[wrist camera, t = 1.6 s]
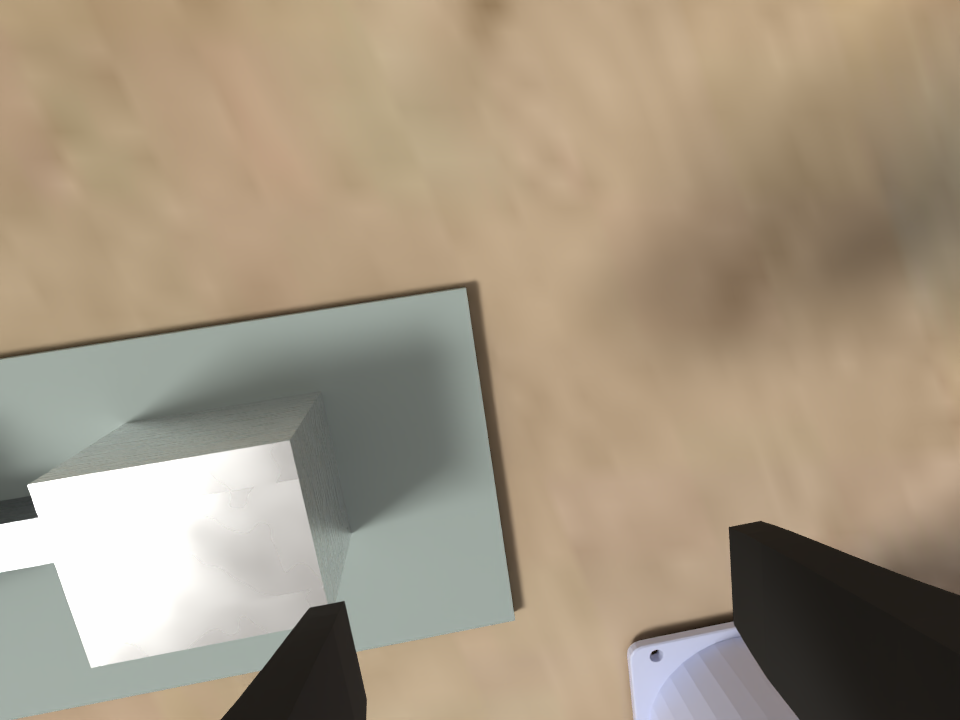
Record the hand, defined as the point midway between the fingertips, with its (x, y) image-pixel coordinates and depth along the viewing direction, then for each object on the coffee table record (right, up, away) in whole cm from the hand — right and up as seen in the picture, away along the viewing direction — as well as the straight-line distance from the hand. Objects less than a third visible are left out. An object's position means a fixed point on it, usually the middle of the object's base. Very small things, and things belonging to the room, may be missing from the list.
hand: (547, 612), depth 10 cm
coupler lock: (-9, +1, +8) cm, 12 cm away
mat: (-12, -1, +9) cm, 15 cm away
